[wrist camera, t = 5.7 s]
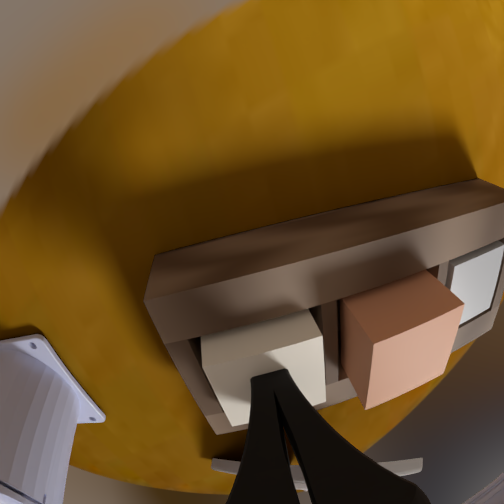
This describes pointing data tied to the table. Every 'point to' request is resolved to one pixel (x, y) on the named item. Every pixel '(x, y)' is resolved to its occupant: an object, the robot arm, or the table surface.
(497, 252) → the slate key
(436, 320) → the rust key
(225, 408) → the ivory key
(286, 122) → the table surface
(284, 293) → the brown slotted tray
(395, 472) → the light switch
